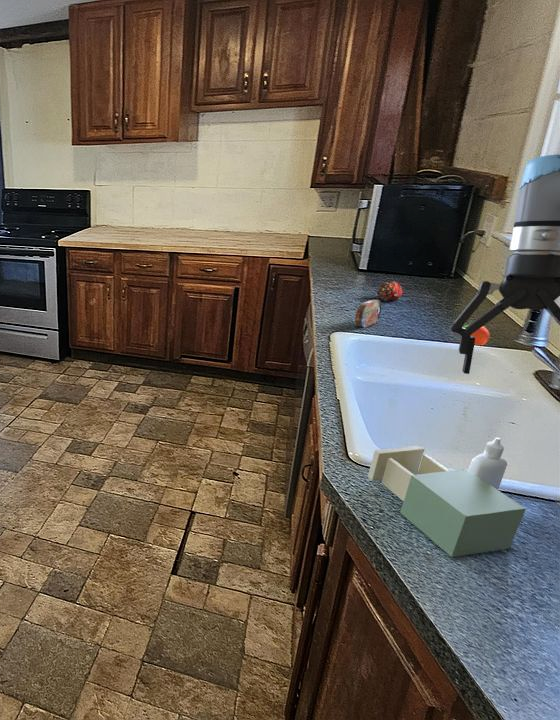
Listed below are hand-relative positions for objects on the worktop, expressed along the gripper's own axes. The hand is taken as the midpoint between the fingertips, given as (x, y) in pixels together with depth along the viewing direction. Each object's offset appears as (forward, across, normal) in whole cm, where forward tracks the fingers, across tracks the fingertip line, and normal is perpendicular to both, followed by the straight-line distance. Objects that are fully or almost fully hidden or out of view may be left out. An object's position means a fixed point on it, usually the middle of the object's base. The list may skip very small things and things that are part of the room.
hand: (513, 377), depth 92 cm
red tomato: (+5, +4, +89) cm, 89 cm away
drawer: (+21, -13, -8) cm, 26 cm away
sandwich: (+1, -26, +95) cm, 98 cm away
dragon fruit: (-6, -20, +135) cm, 137 cm away
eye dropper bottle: (+22, -2, -2) cm, 22 cm away
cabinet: (+24, -7, -16) cm, 29 cm away
